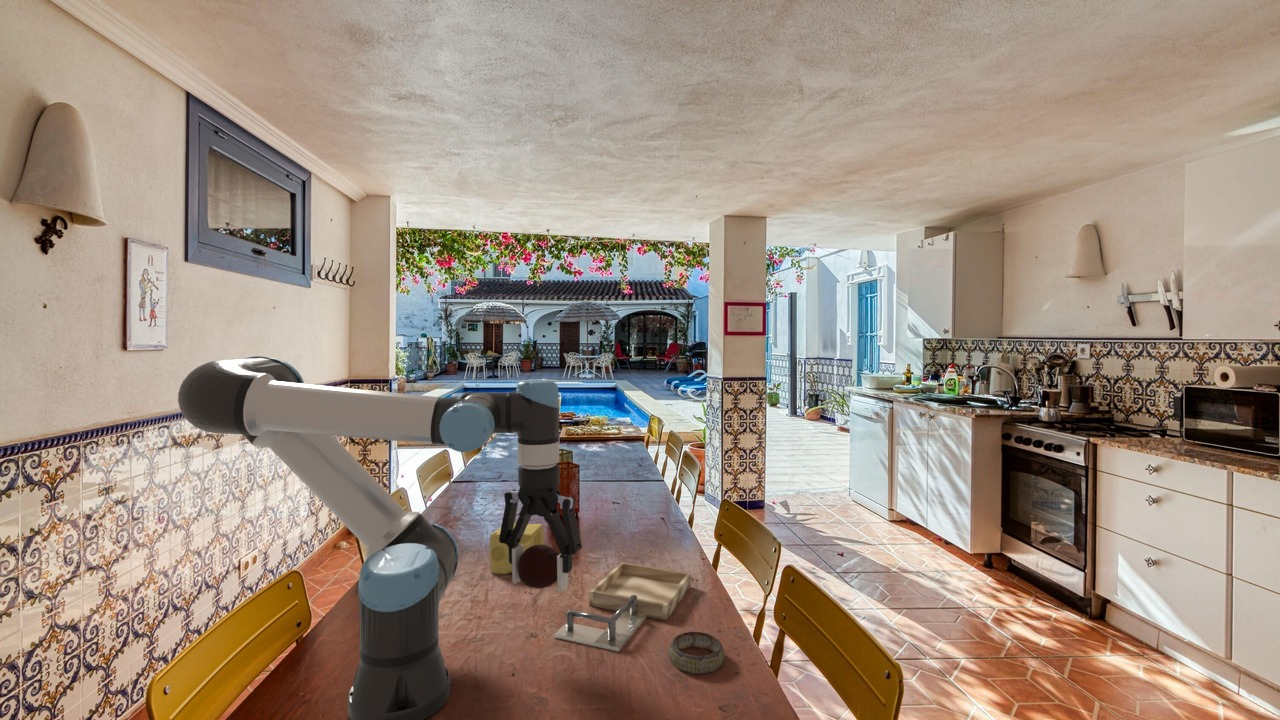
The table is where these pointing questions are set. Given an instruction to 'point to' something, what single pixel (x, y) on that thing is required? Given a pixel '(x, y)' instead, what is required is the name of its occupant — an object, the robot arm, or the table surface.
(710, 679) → the table surface
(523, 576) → the dark brown ball
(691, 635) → the decorative ring
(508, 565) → the cheese
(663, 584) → the tray
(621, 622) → the corner grab bar
